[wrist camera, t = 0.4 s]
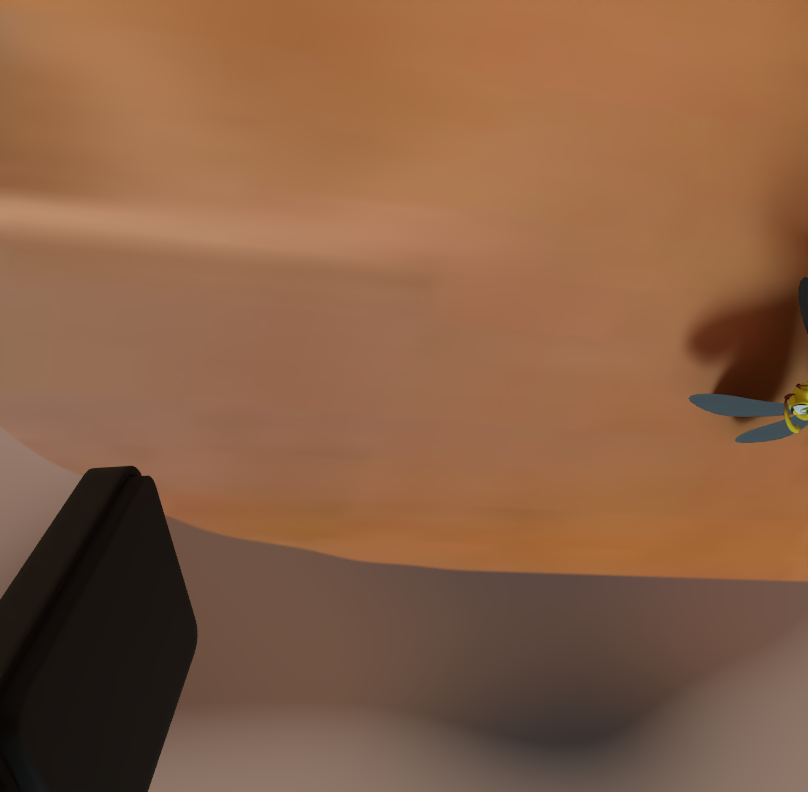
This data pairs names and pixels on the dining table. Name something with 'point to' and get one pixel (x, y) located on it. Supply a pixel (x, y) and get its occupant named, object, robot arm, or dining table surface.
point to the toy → (802, 403)
